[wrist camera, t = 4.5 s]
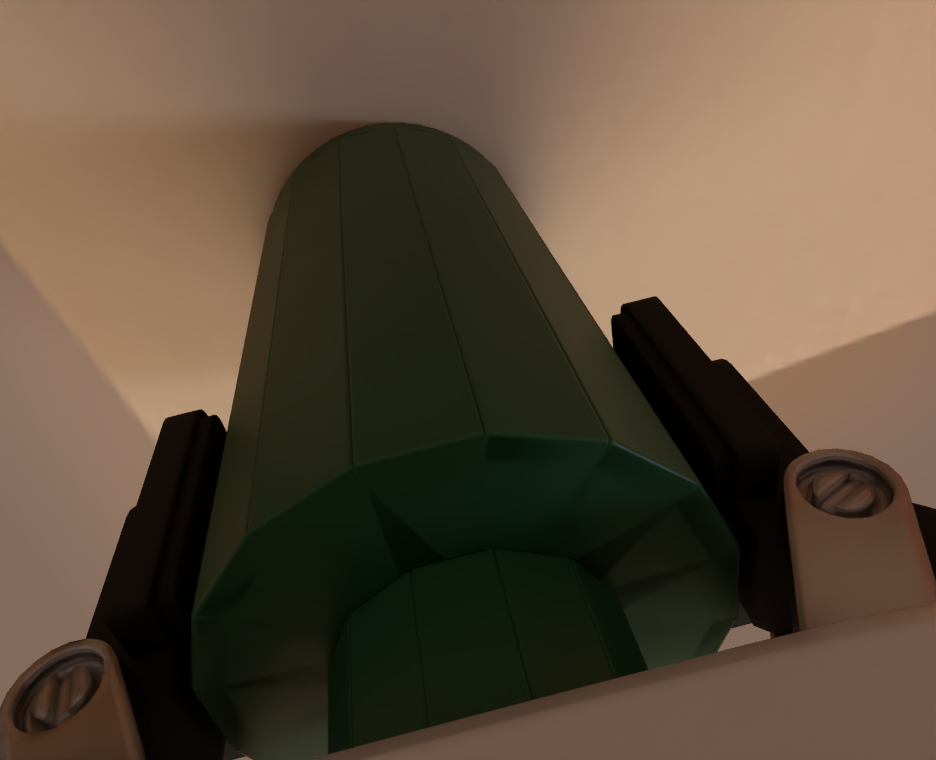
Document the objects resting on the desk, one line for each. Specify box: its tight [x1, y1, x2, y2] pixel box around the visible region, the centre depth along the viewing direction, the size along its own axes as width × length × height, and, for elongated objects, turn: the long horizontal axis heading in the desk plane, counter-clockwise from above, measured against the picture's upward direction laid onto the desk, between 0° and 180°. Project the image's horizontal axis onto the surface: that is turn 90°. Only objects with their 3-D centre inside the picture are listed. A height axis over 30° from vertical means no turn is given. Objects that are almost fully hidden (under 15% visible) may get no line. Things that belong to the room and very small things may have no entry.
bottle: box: [191, 123, 741, 760], centre depth 12 cm, size 6×6×16 cm
